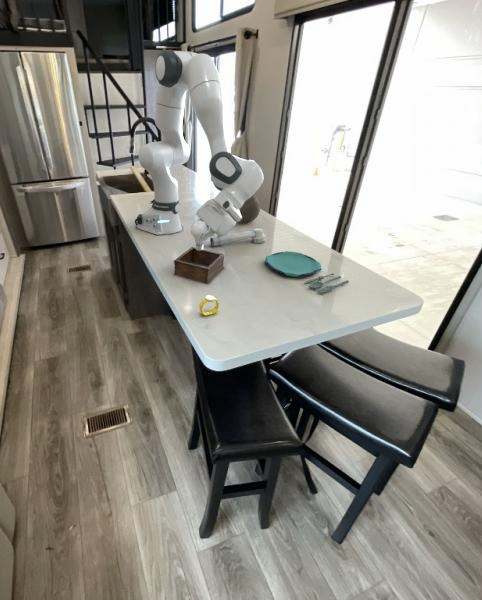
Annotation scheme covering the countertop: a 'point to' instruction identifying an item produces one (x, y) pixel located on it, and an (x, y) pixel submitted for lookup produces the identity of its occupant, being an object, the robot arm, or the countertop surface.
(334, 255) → the countertop surface
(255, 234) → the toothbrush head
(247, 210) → the cantaloupe
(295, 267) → the cutlery set
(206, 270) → the brown wooden box
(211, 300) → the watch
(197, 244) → the lightbulb
